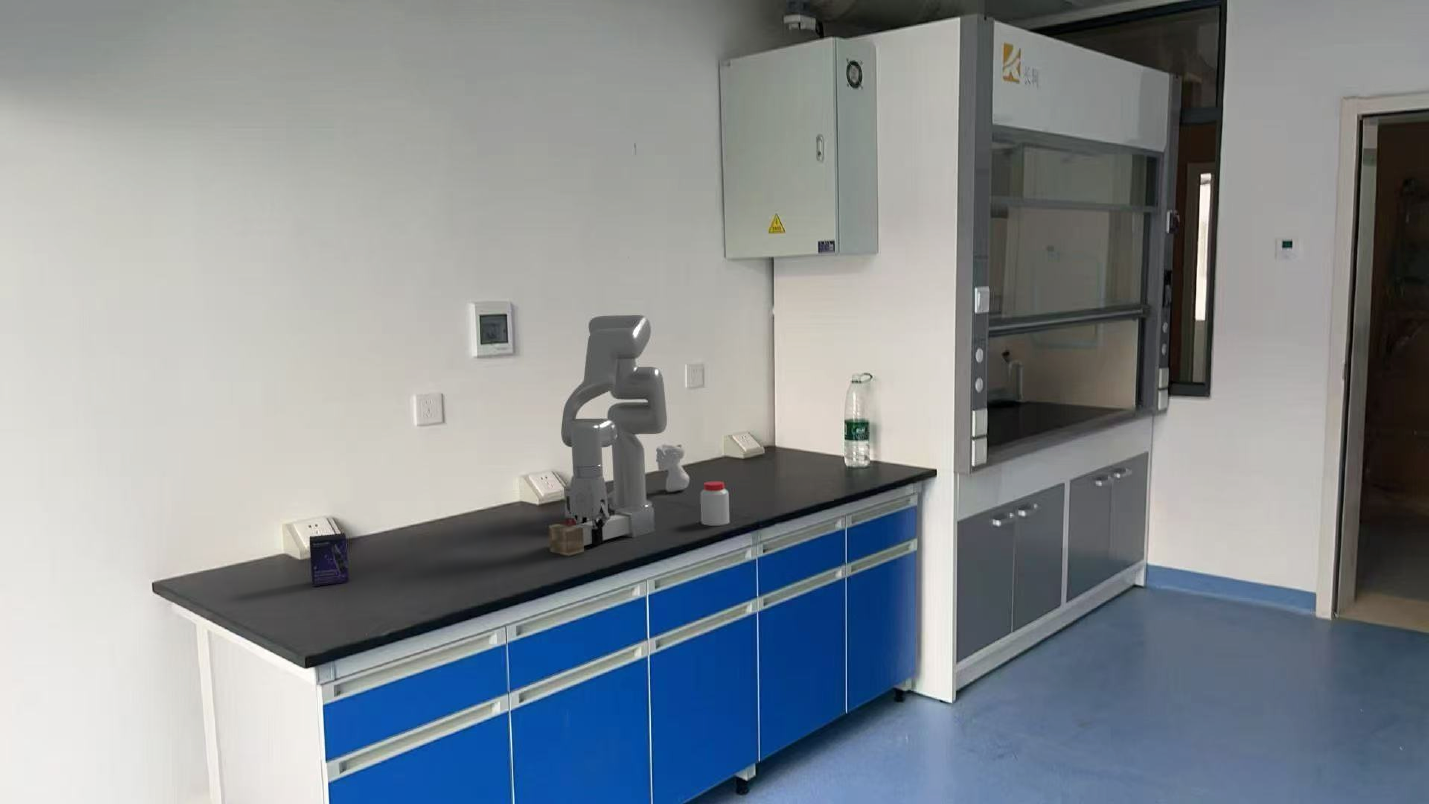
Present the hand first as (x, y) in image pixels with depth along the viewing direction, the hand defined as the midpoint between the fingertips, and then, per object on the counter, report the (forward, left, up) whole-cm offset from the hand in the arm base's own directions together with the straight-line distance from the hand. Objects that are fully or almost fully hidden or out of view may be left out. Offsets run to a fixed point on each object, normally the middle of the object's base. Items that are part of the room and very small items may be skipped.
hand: (591, 541), depth 258 cm
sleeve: (0, +15, -1) cm, 16 cm away
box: (-25, -58, -1) cm, 63 cm away
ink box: (-18, +12, -1) cm, 22 cm away
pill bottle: (+10, +36, -1) cm, 38 cm away
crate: (0, -8, -1) cm, 8 cm away
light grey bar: (0, +2, -1) cm, 3 cm away
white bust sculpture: (-30, +60, -1) cm, 68 cm away
